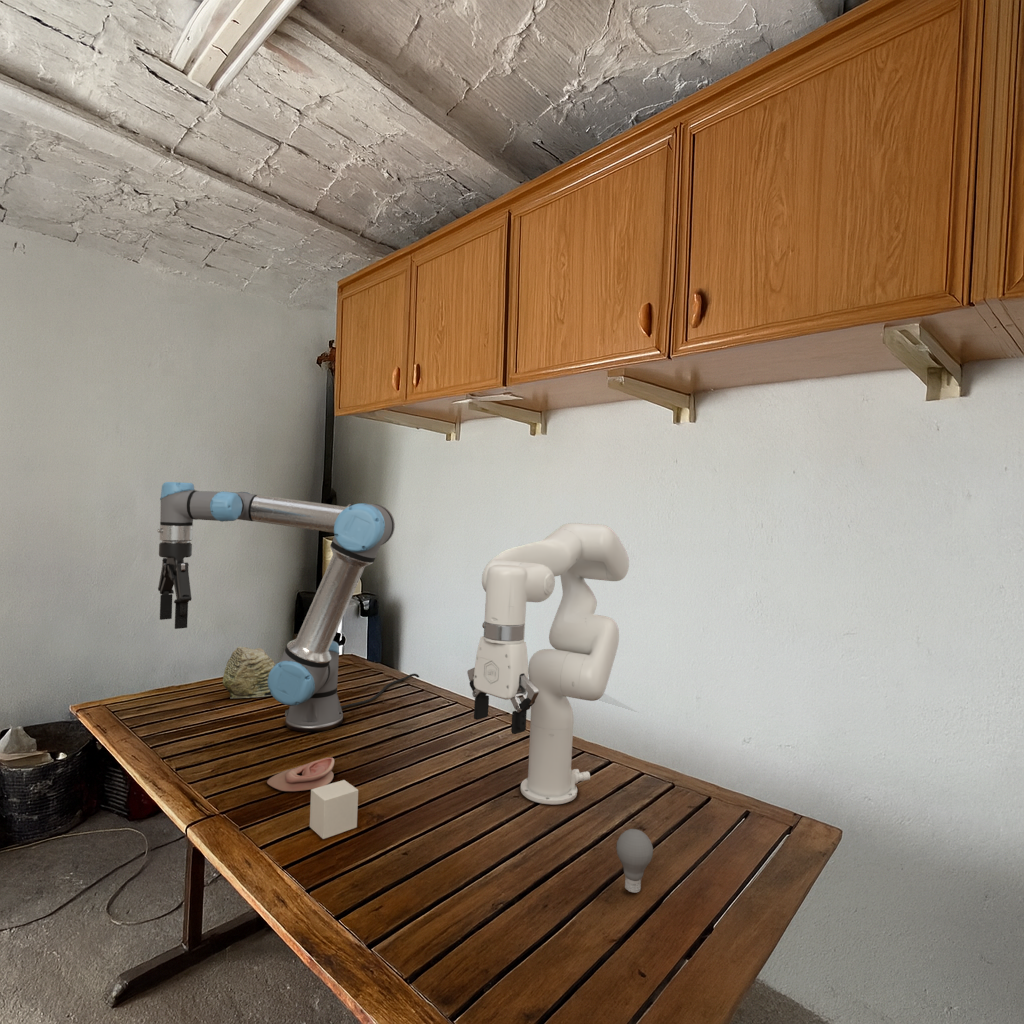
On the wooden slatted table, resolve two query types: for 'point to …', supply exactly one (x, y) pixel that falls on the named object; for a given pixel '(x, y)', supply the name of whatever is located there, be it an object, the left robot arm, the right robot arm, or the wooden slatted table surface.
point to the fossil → (248, 673)
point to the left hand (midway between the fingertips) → (173, 623)
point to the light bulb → (634, 857)
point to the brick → (333, 809)
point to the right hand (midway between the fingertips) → (499, 724)
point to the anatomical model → (304, 776)
